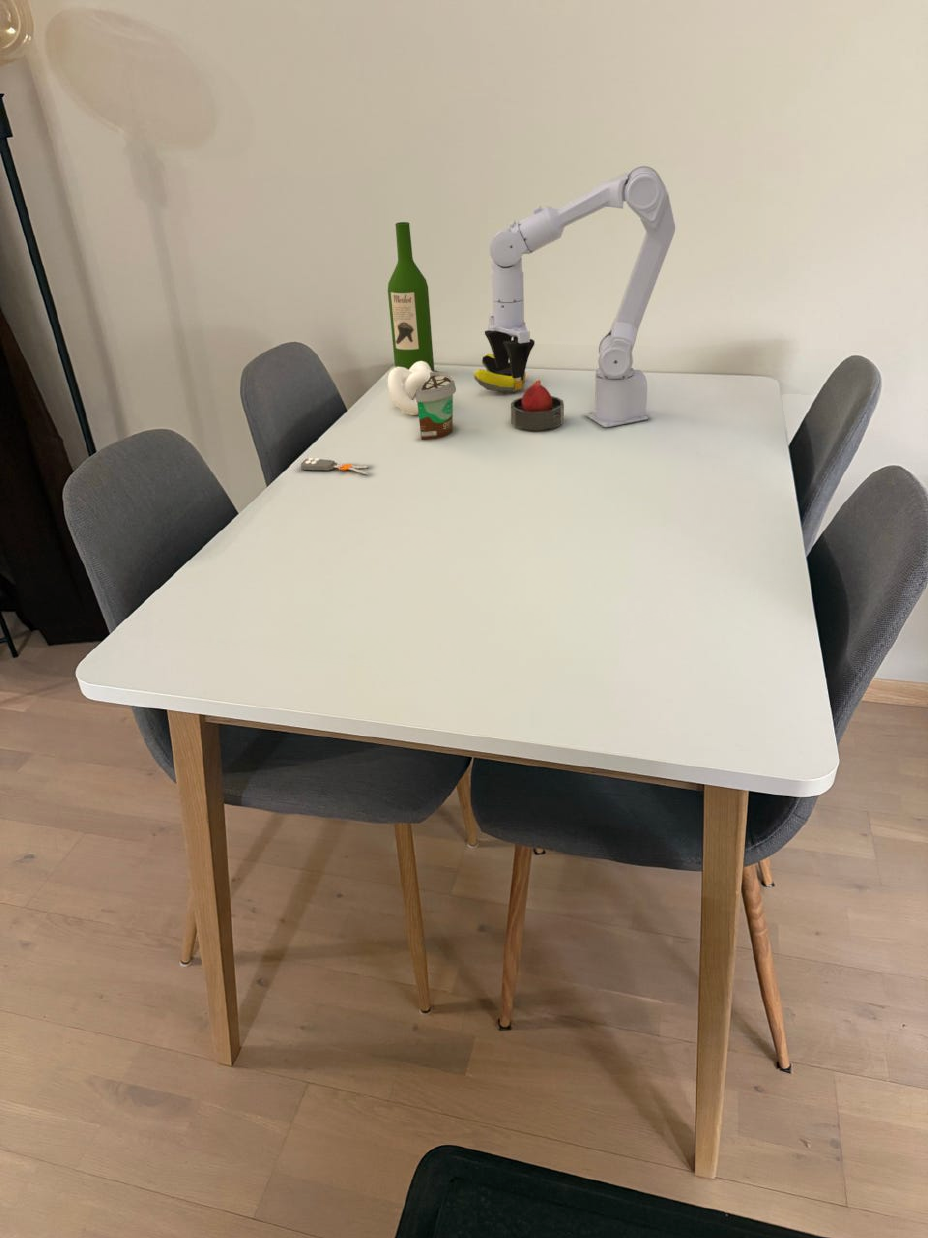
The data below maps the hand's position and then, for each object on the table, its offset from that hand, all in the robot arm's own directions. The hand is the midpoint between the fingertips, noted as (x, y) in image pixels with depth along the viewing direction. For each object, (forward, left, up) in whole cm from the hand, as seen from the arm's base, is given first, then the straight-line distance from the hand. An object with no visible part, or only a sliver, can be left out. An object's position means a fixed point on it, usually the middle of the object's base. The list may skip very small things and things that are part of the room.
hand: (509, 372), depth 174 cm
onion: (-4, +5, -9) cm, 11 cm away
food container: (+14, 0, -10) cm, 17 cm away
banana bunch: (-7, -20, -10) cm, 23 cm away
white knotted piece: (+14, -16, -10) cm, 24 cm away
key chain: (+38, +8, -10) cm, 40 cm away
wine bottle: (+7, -38, -10) cm, 40 cm away
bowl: (-4, +5, -10) cm, 11 cm away
